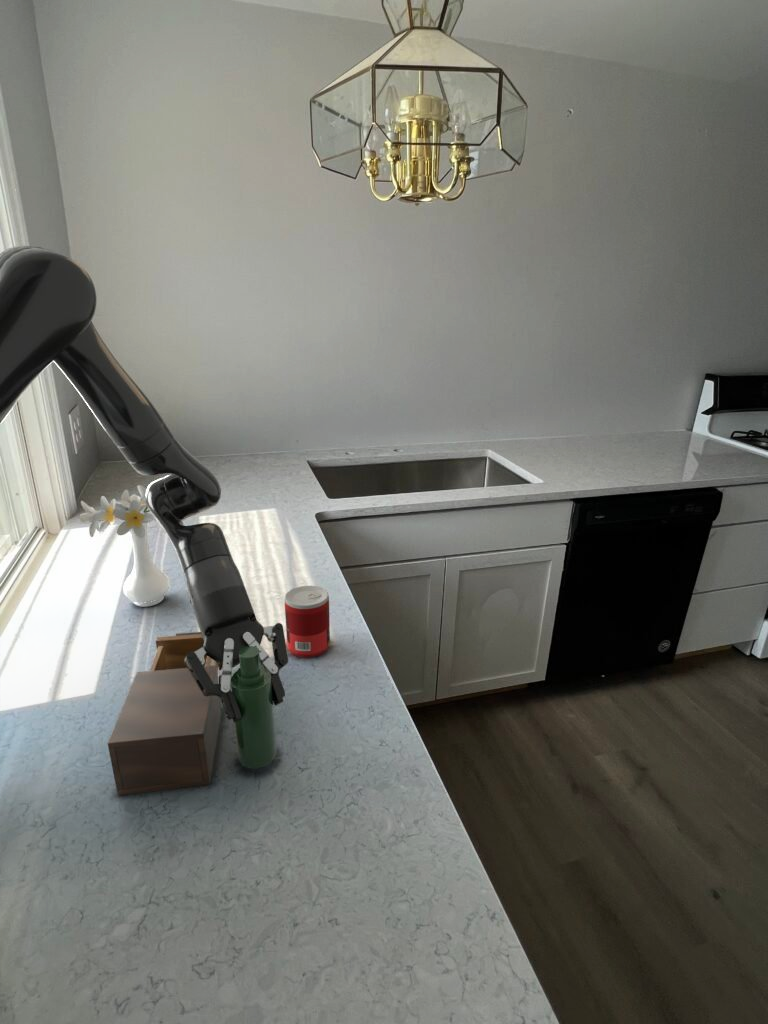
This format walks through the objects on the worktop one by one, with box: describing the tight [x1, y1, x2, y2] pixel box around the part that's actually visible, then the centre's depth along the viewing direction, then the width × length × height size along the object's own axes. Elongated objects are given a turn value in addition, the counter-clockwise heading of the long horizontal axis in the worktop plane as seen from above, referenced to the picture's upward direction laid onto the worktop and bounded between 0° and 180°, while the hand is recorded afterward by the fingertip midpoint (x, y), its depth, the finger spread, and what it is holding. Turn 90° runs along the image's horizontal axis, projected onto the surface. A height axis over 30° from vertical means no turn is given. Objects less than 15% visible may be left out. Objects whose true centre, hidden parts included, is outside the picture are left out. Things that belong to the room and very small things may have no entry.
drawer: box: [148, 631, 219, 673], centre depth 91 cm, size 18×10×7 cm, turn 9°
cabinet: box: [107, 666, 223, 796], centre depth 79 cm, size 15×12×9 cm
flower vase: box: [79, 484, 171, 608], centre depth 115 cm, size 13×18×25 cm
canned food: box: [284, 585, 331, 659], centre depth 102 cm, size 8×8×11 cm
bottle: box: [230, 646, 277, 769], centre depth 75 cm, size 5×5×17 cm
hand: (259, 711), depth 74 cm, fingers closed on bottle, 5 cm apart
